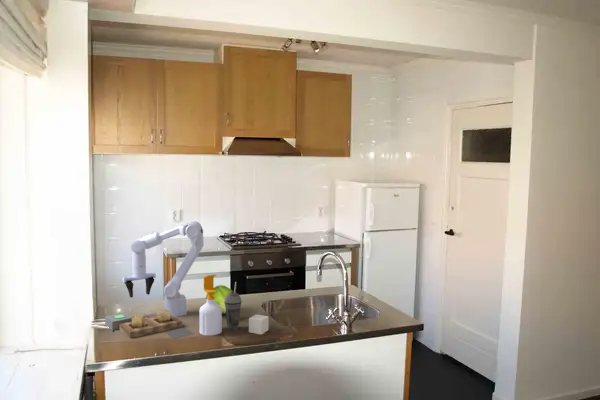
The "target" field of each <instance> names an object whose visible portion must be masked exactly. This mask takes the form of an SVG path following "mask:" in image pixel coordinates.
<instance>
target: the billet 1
mask: <svg viewBox="0 0 600 400" xmlns="http://www.w3.org/2000/svg"><path fill="white" fill-rule="evenodd" d="M145 319H146V315H145V314H142V313H141V314H136V313H135V314H134V315H133V316H132V328H133V329H136V328H141V327H145Z"/></svg>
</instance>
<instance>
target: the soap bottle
mask: <svg viewBox="0 0 600 400" xmlns="http://www.w3.org/2000/svg"><path fill="white" fill-rule="evenodd" d="M216 276H217V274H210V275H209V274H208V275H204V276H203V290H204V292H205V293H206V295H207V294H209V297H207V302H206V301H205V303H204V304H203V305H201V306H200V307H199V310H198V311H199V312H198V313H199V317H198V318H199V320H198V321H199V325H198V326H199V327H198V328H199V334H200V335H203V336H216V335H219V334H221V333H222V332H223V330H222V329H223V322H222V320H223V318H222V317H223V316H222V315H223V314H222V308H221V306H219V305H218V304H216V303H215V297H213V294H214V293H215V292H217V291H216V290H215V289H214V287H215V285H214V277H216Z"/></svg>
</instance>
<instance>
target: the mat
mask: <svg viewBox="0 0 600 400" xmlns="http://www.w3.org/2000/svg"><path fill="white" fill-rule="evenodd" d="M164 333H165V334H166V335H168V336H169V337H171V338H172V339H177V338H183V337H187V336H191V335H195V332H192V331H191V330H190V329H187V328H186V327H179V328H175V329H170V330H166V331H164Z"/></svg>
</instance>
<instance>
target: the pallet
mask: <svg viewBox="0 0 600 400" xmlns="http://www.w3.org/2000/svg"><path fill="white" fill-rule="evenodd" d="M119 328H120V329H119V331H121V333H122V334H124V335H126V336H127V337H128V338H129V339H132V338H137V337H142V336H146V335H147V336H148V335H151V334H156V333H160V332H161V333H162V332H167V331H171V330H176V329H180V328H183V321H182V320H181V319H179V318H177V317H174V316H173V315H171V314H170V322H165V323H160V324H159V323H158V322H157V316H154V317H149V318H148V317H147V318H145V327H141V328H136V329H133V328H132V322H127V323H122V324H119Z"/></svg>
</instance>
